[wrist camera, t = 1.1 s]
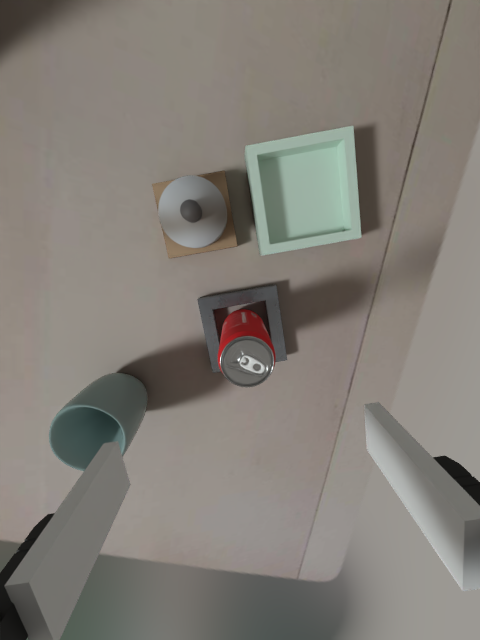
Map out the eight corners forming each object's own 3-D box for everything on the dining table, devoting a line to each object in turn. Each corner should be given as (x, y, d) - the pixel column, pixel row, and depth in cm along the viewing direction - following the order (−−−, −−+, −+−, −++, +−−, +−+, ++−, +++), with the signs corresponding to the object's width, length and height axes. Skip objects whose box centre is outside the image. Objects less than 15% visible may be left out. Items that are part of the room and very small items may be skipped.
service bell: (155, 187, 32) (139, 173, 27) (224, 174, 32) (223, 158, 27) (171, 258, 34) (159, 258, 29) (237, 246, 34) (237, 244, 28)
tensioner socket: (198, 297, 35) (197, 299, 34) (274, 284, 35) (276, 285, 33) (213, 368, 37) (212, 372, 36) (285, 355, 37) (287, 360, 36)
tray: (244, 155, 32) (245, 145, 29) (342, 137, 31) (353, 125, 28) (259, 255, 34) (262, 255, 31) (350, 239, 34) (361, 237, 31)
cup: (162, 376, 37) (136, 418, 28) (145, 425, 39) (115, 482, 29) (104, 356, 37) (57, 393, 27) (89, 407, 38) (39, 459, 28)
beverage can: (234, 300, 35) (234, 322, 24) (270, 319, 36) (288, 350, 24) (215, 335, 36) (206, 374, 25) (251, 353, 37) (258, 399, 25)
